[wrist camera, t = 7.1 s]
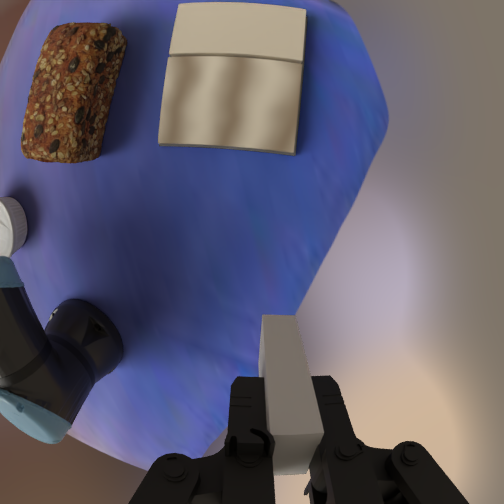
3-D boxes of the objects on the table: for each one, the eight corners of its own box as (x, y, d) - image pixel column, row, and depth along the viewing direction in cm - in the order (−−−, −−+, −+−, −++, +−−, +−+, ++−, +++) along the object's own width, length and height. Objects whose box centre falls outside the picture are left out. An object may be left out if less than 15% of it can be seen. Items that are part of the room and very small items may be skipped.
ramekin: (26, 186, 36) (6, 192, 31) (37, 250, 39) (19, 261, 34) (-7, 197, 36) (-26, 203, 31) (3, 253, 39) (-14, 263, 34)
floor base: (161, 146, 34) (153, 145, 31) (180, 13, 28) (175, 4, 25) (294, 155, 34) (297, 155, 32) (306, 19, 28) (310, 10, 25)
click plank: (162, 143, 33) (157, 143, 31) (172, 61, 29) (168, 57, 28) (291, 152, 33) (293, 152, 32) (299, 68, 30) (302, 64, 28)
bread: (79, 42, 28) (42, 24, 19) (136, 39, 29) (104, 13, 20) (50, 154, 34) (7, 159, 25) (103, 162, 35) (62, 167, 25)
